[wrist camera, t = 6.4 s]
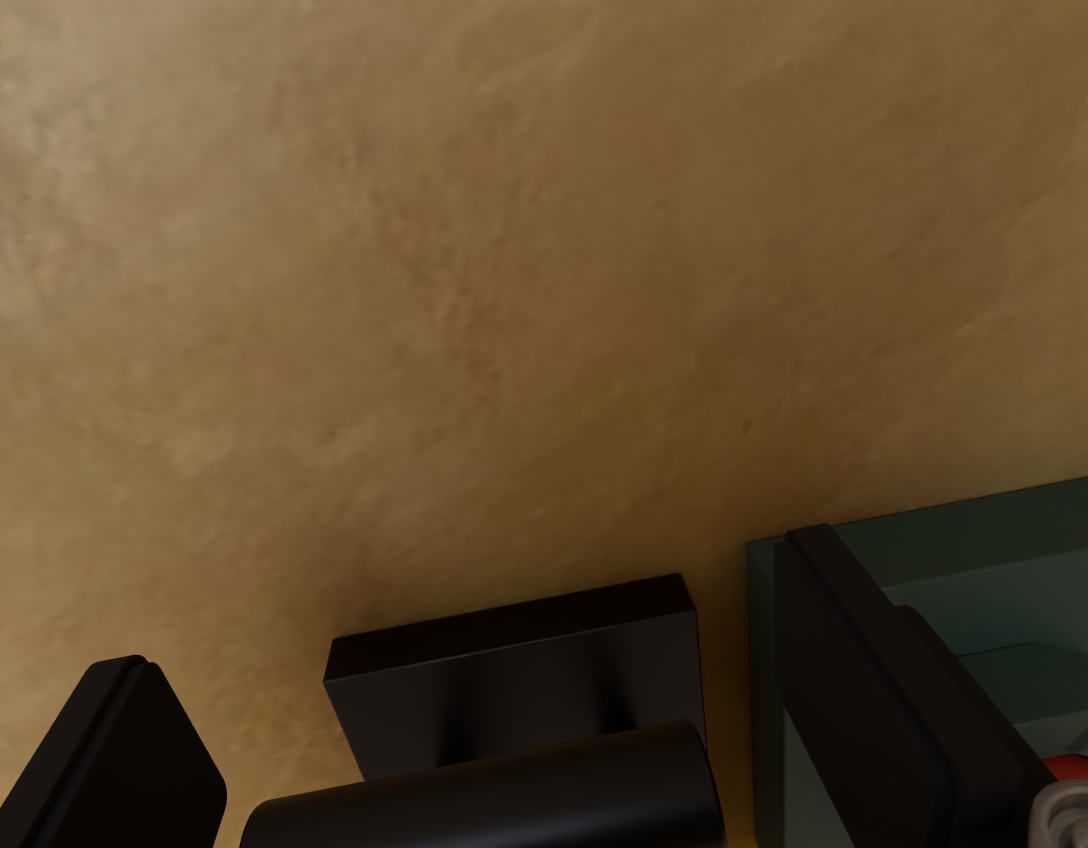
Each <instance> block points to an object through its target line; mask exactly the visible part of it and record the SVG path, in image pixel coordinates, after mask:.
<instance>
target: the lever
mask: <svg viewBox="0 0 1088 848" xmlns="http://www.w3.org/2000/svg"><path fill="white" fill-rule="evenodd" d="M239 848H727V839H726V832H725V825H724V820H723V815H722V810H721V805H720V800H719V796H718V792H717V788H716V784H715V780H714V777H713V773H712V770H711V766H710V763H709V760H708V756H707V753H706V750H705V748H704V745H703V742H702V739H701V737H700V735H699V732H698V730H697V729H696V727H695V725H694V724H693V722H692V721H691V720H687V719H683V720H678V721H673V722H668V723H663V724H658V725H652V726H647V727H642V728H637V729H632V730H627V731H621V732H616V733H611V734H606V735H601V736H596V737H591V738H585V739H580V740H575V741H570V742H565V743H560V744H554V745H549V746H544V747H539V748H534V749H529V750H524V751H518V752H513V753H508V754H503V755H498V756H493V757H487V758H482V759H477V760H472V761H467V762H462V763H457V764H451V765H446V766H441V767H436V768H431V769H426V770H421V771H415V772H410V773H405V774H400V775H395V776H390V777H384V778H379V779H374V780H369V781H364V782H359V783H354V784H348V785H343V786H338V787H333V788H328V789H323V790H317V791H312V792H307V793H302V794H297V795H292V796H287V797H281V798H276V799H271V800H267V801H264V802H263V803H261V804H260V805H259V806H257V807H256V808H255V809H254V810H253V812H252V813H251V815H250V817H249V819H248V821H247V823H246V825H245V828H244V831H243V834H242V837H241V842H240V846H239Z"/></svg>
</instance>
